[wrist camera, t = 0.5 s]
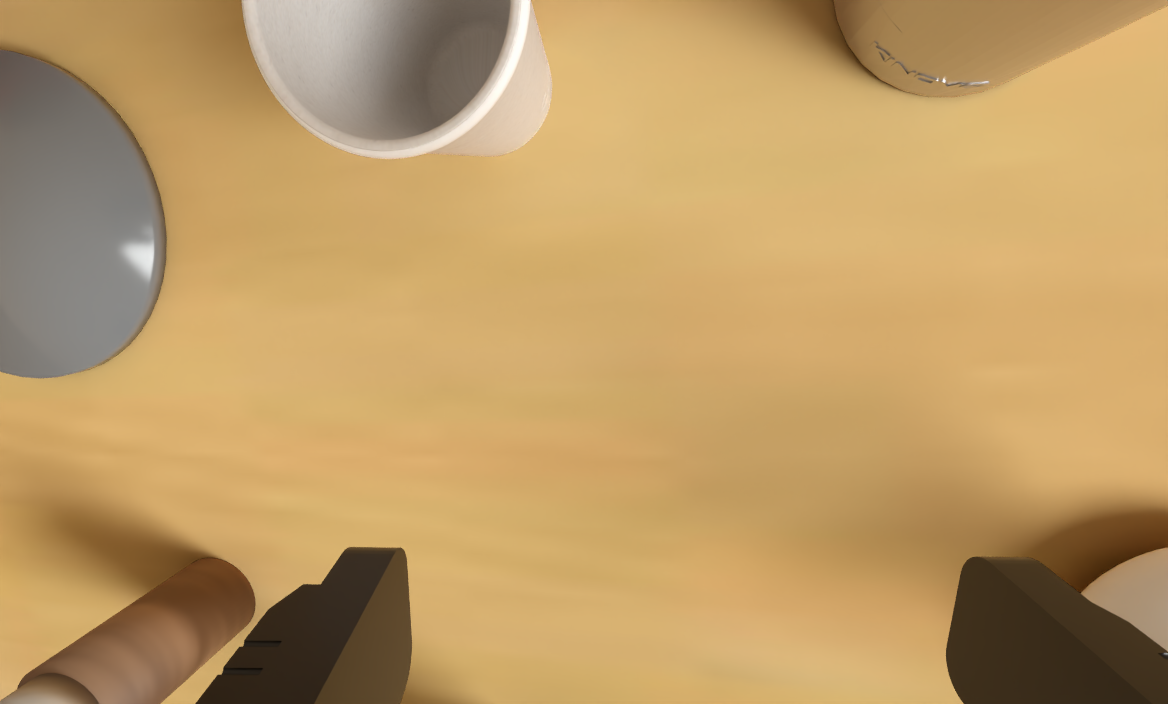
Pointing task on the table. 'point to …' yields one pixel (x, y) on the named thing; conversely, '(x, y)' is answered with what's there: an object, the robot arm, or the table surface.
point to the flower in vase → (1137, 593)
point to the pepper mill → (147, 642)
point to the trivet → (71, 224)
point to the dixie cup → (405, 72)
